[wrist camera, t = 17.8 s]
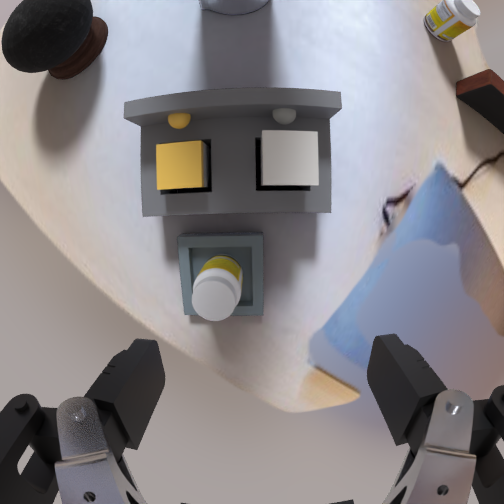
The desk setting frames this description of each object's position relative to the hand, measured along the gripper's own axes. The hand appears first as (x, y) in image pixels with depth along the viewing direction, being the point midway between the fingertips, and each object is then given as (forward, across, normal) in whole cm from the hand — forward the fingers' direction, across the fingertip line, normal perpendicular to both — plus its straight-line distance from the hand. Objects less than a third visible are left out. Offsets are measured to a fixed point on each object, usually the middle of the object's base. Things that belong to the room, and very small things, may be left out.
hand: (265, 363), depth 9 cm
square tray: (+23, +5, +4) cm, 24 cm away
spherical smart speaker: (+23, +26, -30) cm, 46 cm away
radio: (+25, -37, -20) cm, 49 cm away
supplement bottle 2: (+25, -29, -33) cm, 50 cm away
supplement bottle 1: (+23, +5, +4) cm, 24 cm away
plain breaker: (+20, -2, -8) cm, 21 cm away
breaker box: (+23, +3, -8) cm, 25 cm away
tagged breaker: (+23, +7, -8) cm, 25 cm away
